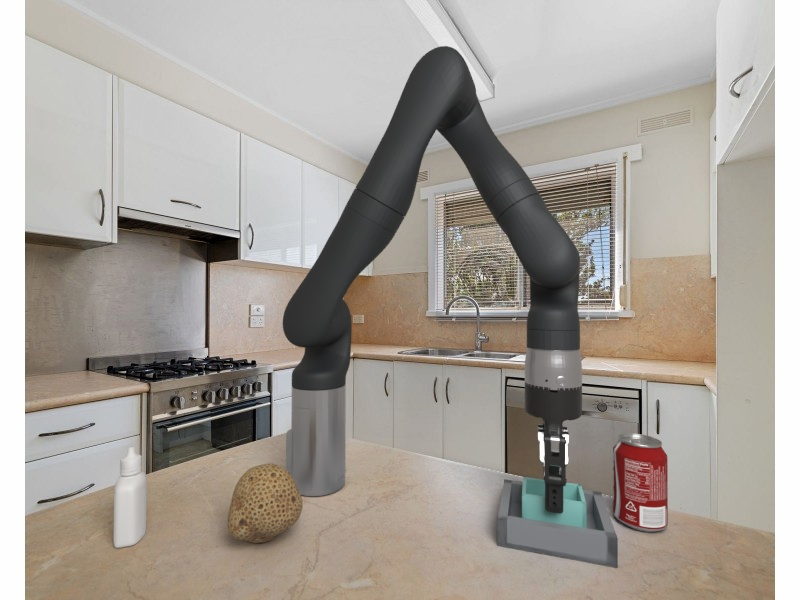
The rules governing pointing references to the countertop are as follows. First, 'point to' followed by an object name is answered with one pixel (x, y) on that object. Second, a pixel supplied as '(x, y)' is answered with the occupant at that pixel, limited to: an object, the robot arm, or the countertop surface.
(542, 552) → the large crate
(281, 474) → the natural sponge
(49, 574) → the countertop surface
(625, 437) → the soda can
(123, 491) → the eye dropper bottle
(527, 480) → the small crate
